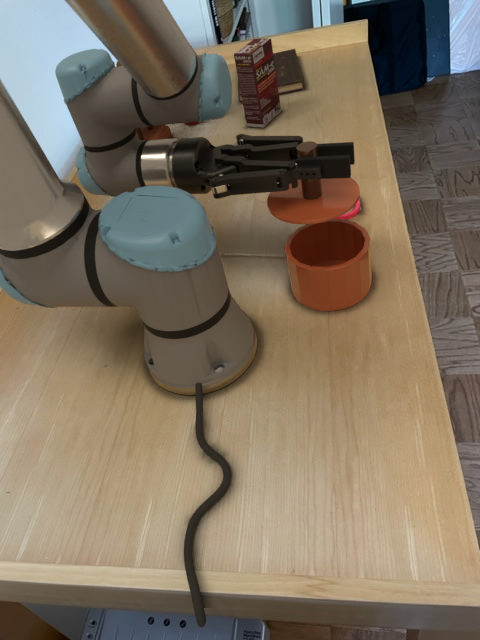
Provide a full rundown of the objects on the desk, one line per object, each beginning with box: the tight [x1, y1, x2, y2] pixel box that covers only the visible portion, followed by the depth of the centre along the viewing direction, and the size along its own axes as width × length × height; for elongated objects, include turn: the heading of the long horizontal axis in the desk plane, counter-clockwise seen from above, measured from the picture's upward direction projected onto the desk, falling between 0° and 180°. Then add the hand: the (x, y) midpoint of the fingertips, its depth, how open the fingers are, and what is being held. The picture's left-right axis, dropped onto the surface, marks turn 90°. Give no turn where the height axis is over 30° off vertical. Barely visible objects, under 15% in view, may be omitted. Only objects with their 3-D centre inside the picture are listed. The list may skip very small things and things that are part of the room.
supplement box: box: [233, 38, 282, 129], centre depth 117 cm, size 9×5×16 cm, turn 148°
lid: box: [266, 140, 361, 225], centre depth 70 cm, size 12×12×8 cm
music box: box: [115, 60, 174, 141], centre depth 116 cm, size 15×11×20 cm
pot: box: [284, 219, 373, 312], centre depth 75 cm, size 11×11×7 cm
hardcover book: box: [237, 48, 305, 103], centre depth 138 cm, size 16×23×2 cm
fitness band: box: [335, 198, 362, 220], centre depth 90 cm, size 8×6×2 cm
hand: (351, 159), depth 67 cm, fingers closed on lid, 3 cm apart
